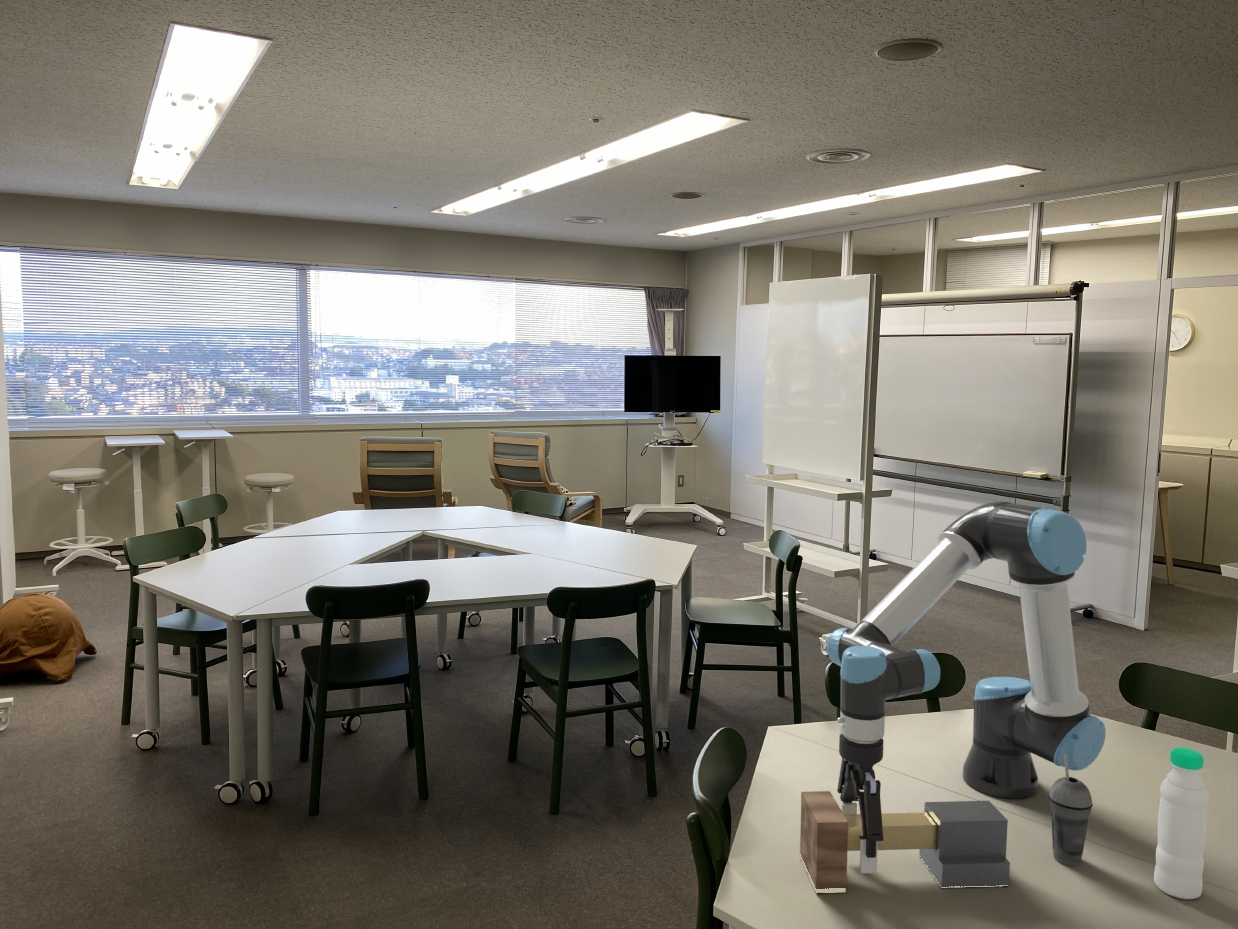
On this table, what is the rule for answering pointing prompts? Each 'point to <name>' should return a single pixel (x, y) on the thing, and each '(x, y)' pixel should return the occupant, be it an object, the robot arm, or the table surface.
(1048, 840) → the table surface
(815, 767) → the table surface
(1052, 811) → the beverage cup
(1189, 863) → the water bottle
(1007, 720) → the robot arm
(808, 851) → the socket block
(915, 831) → the rail
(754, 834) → the table surface
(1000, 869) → the sleeve
